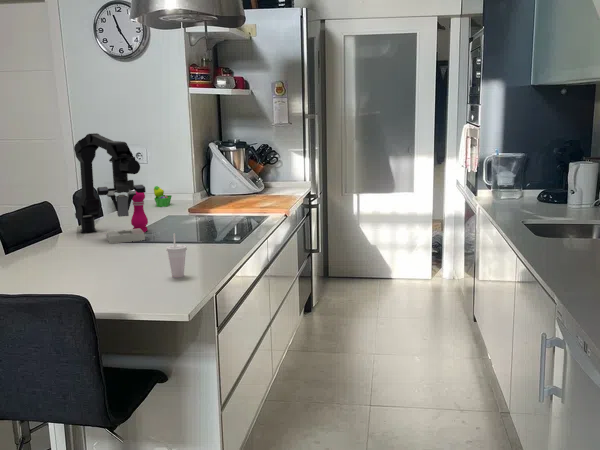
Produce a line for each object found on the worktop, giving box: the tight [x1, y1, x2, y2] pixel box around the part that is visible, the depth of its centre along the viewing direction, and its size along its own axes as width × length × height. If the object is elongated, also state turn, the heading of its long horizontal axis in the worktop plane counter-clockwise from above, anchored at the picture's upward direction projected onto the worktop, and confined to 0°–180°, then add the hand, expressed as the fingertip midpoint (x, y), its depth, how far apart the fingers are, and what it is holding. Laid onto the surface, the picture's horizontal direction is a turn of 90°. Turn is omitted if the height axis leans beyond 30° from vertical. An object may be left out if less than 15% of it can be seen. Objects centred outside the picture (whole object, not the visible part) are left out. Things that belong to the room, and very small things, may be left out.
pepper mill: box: [130, 192, 149, 233], centre depth 264 cm, size 7×7×20 cm
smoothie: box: [166, 233, 188, 279], centre depth 191 cm, size 6×6×14 cm
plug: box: [115, 194, 130, 218], centre depth 247 cm, size 4×4×9 cm
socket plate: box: [105, 228, 146, 244], centre depth 250 cm, size 12×14×3 cm
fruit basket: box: [153, 185, 173, 208], centre depth 339 cm, size 11×9×11 cm
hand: (122, 210), depth 247 cm, fingers closed on plug, 4 cm apart
